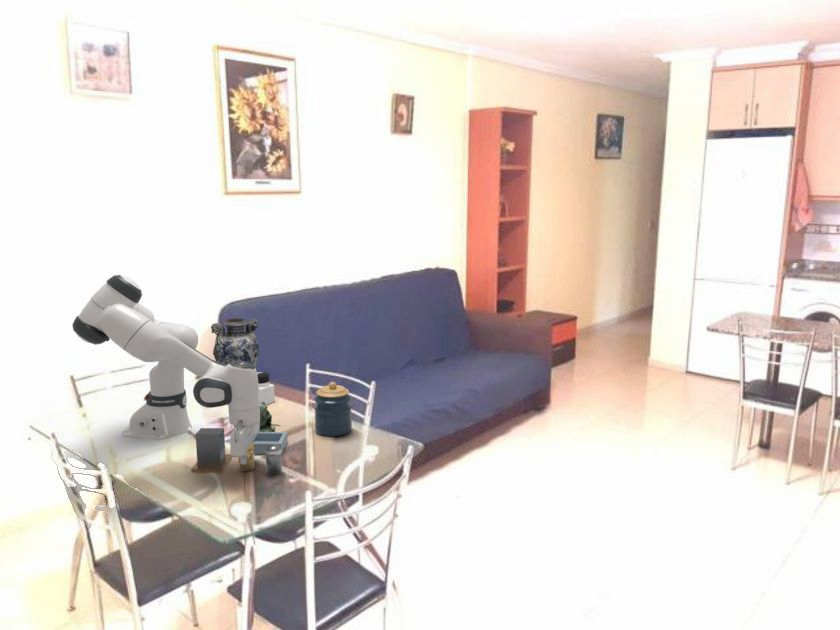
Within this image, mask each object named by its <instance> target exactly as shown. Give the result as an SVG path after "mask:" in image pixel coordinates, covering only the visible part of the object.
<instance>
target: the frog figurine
mask: <svg viewBox="0 0 840 630" xmlns="http://www.w3.org/2000/svg"><path fill="white" fill-rule="evenodd" d="M259 405H261V406H262V411H261V413H260V429H259V432H275V429H276V427H279V428H280V427H281V425H279V424H276V423H272V422H273V421H272V420H273V419H272V418H273V415H272V414H271V413H270V411H269V410H268V406H267V405H265V403H264V402H263V401H262V402H261V404H259Z"/></svg>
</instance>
